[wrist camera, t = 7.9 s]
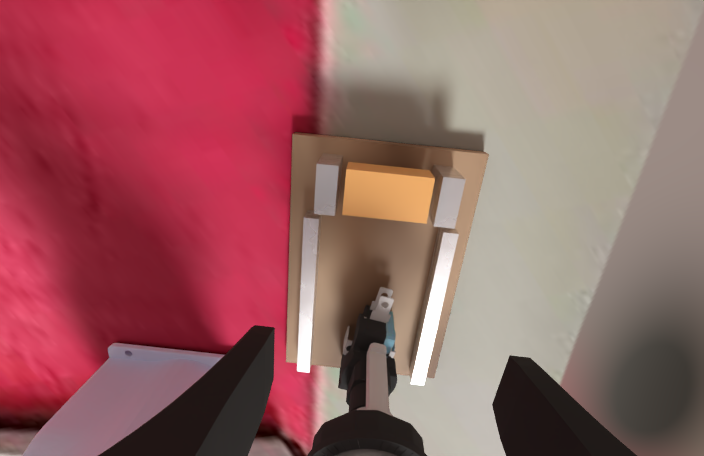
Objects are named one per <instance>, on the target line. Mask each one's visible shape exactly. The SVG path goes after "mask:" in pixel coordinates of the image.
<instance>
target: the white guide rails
mask: <svg viewBox="0 0 704 456" xmlns="http://www.w3.org/2000/svg"><path fill="white" fill-rule="evenodd" d="M342 161H343V155H336V154H327V153H324V154H323V155H322V156H321V158H320V159H319V161H318V162H317V165H316V183H315V200H314V211H313V210H307V212H306V214H305V216H304V220H303V243H302V266H301V288H300V311H299V334H298V356H297V371H298V372H307V373H309V372H310V367H311V363H312V355H313V340H314V324H315V309H316V294H317V279H318V263H319V248H320V233H321V217H322V215H330V216H335V213H336V209H337V206H338V202H339V196H340V185H341V173H342ZM432 174H433V176H434V177H435V182H434V187H433V193H432V198H431V203H430V208H429V214H428V215H429V217H430V220H431V222H432V224H433V226H434V227H439V228H438V233H437V237H436V242H435V247H434V252H433V257H432V262H431V267H430V271H429V276H428V281H427V286H426V291H425V296H424V301H423V305H422V310H421V315H420V320H419V325H418V330H417V335H416V339H415V344H414V349H413V354H412V359H411V364H410V369H409V371H410V379H411V384H416V385H424V382H425V378H426V374H427V369H428V365H429V361H430V357H431V352H432V348H433V344H434V339H435V335H436V331H437V326H438V322H439V318H440V313H441V309H442V305H443V300H444V296H445V292H446V288H447V283H448V279H449V275H450V270H451V266H452V262H453V257H454V253H455V249H456V244H457V240H458V236H459V233H458V232H457V230H456V228H455V225H456V221H457V216H458V212H459V207H460V203H461V198H462V194H463V190H464V185H465V181H466V179H465V178H464V177H463V176H462V175H461V174H460V173H459V172H458V171H457V170H456V169H455V168H454V167H451V166H442V165H434V166H433V171H432Z"/></svg>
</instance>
